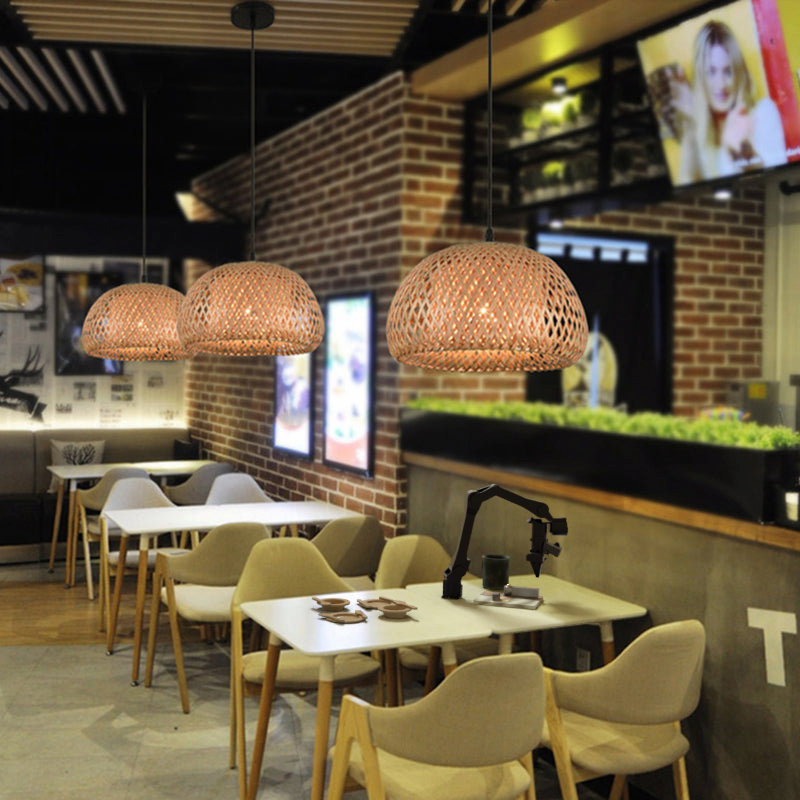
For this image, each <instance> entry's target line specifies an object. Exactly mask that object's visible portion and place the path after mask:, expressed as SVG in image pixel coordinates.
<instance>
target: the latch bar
mask: <svg viewBox="0 0 800 800" xmlns="http://www.w3.org/2000/svg"><path fill="white" fill-rule="evenodd" d="M503 593H504V595H508V596H511V595H512V596H523V597H534V598H538V597H539V596H540V588H539V587H527V586H526V587H525V586H515V585H512V584H510V583H509V584H507V585H506V586H504V589H503Z"/></svg>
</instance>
